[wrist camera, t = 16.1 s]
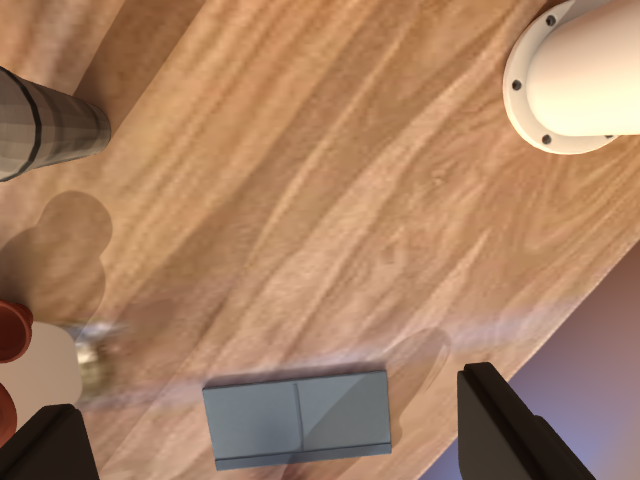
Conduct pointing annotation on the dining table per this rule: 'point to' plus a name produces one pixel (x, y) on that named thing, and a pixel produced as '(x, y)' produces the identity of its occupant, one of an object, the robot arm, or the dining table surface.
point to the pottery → (12, 357)
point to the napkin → (299, 420)
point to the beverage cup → (45, 126)
